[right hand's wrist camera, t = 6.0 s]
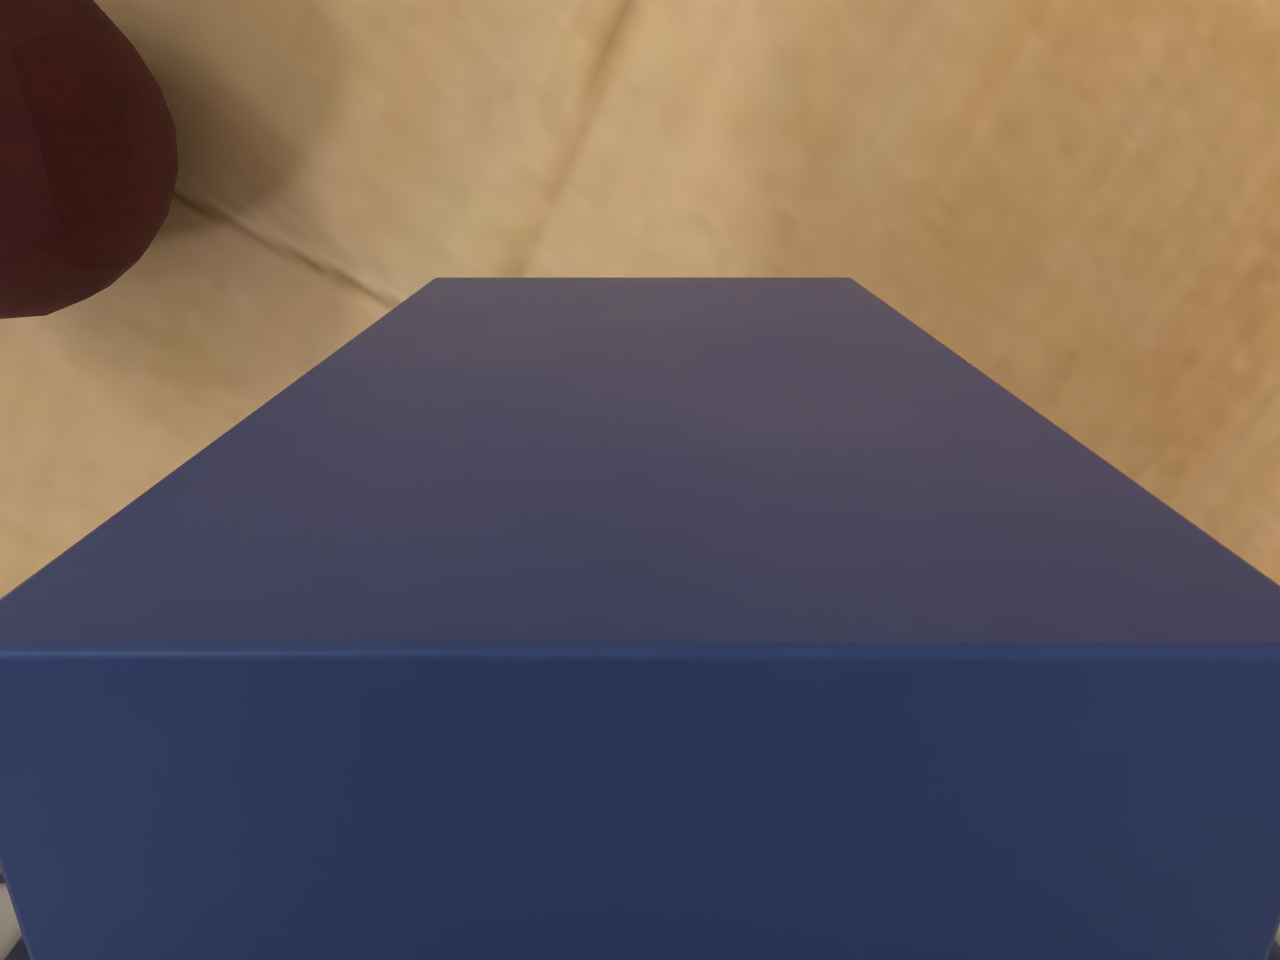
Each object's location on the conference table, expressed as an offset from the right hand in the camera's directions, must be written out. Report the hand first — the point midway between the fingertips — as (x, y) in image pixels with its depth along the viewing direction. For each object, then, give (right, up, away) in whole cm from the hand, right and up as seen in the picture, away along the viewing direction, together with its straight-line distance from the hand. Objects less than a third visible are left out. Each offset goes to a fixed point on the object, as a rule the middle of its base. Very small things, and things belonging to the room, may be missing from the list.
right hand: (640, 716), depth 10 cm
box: (0, -6, +8) cm, 10 cm away
